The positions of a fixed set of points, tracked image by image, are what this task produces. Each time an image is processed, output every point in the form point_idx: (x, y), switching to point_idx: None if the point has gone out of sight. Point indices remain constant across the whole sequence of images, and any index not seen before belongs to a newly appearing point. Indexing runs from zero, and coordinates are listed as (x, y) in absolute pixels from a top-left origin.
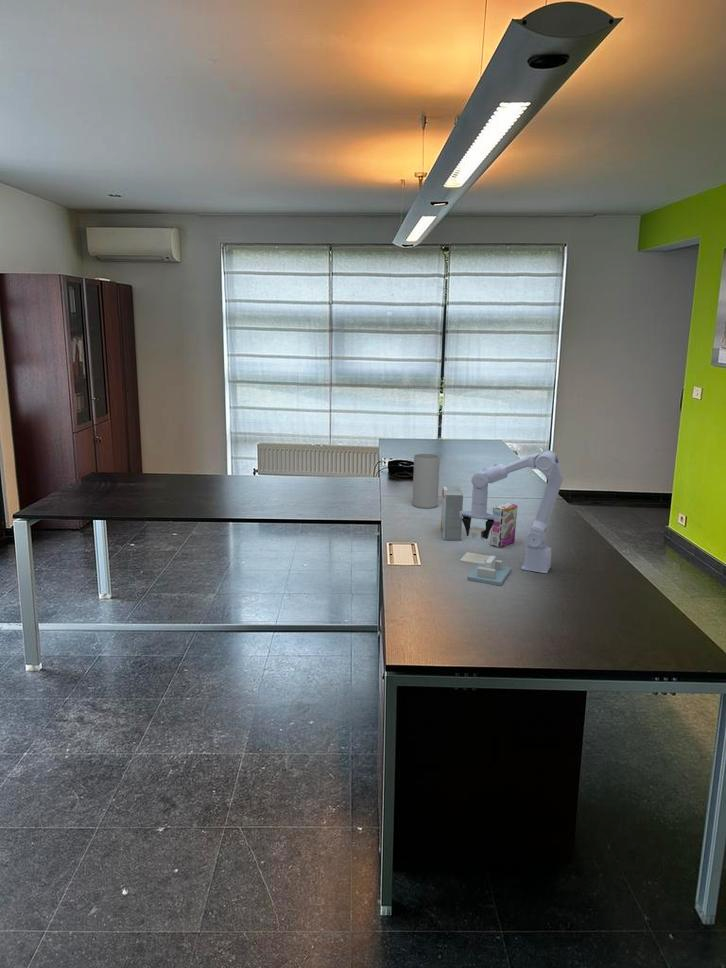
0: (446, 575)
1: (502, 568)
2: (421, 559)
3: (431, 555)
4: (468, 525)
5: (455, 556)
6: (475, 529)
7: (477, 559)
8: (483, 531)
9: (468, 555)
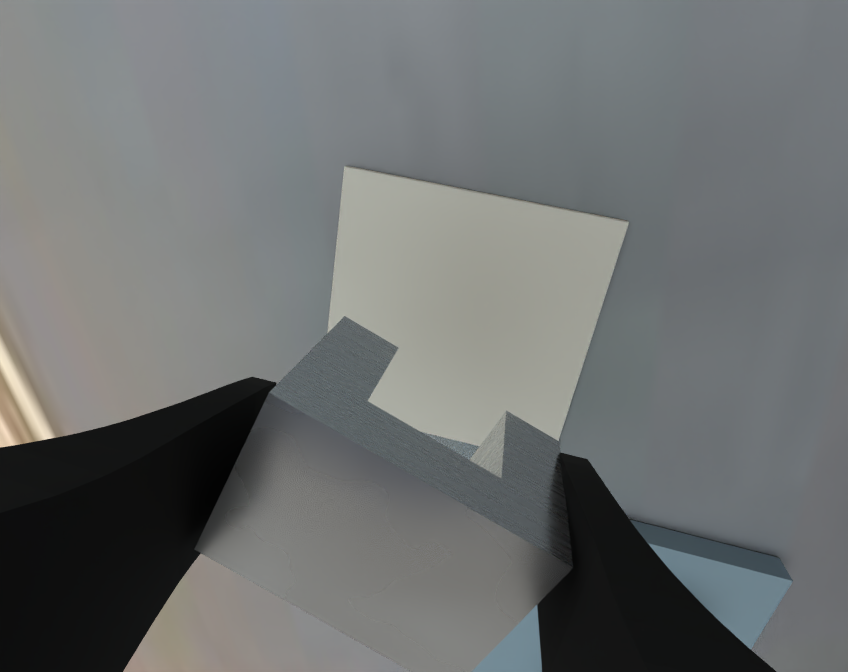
0: (297, 657)
1: (701, 597)
2: (56, 422)
3: (79, 319)
4: (145, 599)
5: (262, 294)
6: (328, 596)
7: (470, 364)
8: (496, 629)
9: (372, 268)
